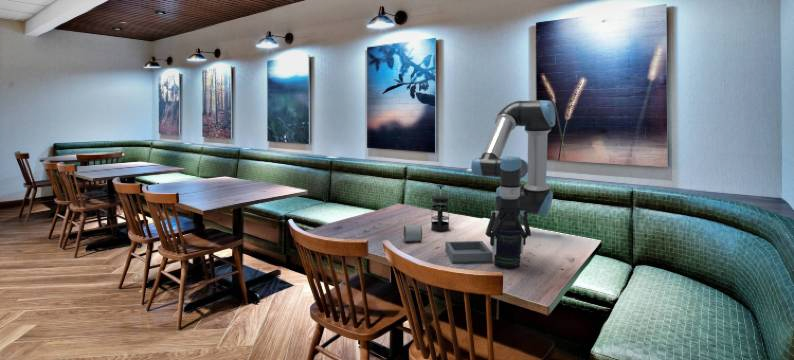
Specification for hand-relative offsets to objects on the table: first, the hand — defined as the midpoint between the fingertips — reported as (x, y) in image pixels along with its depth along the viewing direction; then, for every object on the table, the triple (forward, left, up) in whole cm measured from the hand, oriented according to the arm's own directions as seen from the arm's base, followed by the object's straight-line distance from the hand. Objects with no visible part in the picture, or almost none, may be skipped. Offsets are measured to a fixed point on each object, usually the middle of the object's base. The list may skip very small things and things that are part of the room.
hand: (507, 253), depth 162 cm
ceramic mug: (+34, -35, -5) cm, 49 cm away
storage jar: (0, 0, -5) cm, 5 cm away
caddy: (+13, -11, -5) cm, 18 cm away
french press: (+18, -52, -5) cm, 55 cm away
